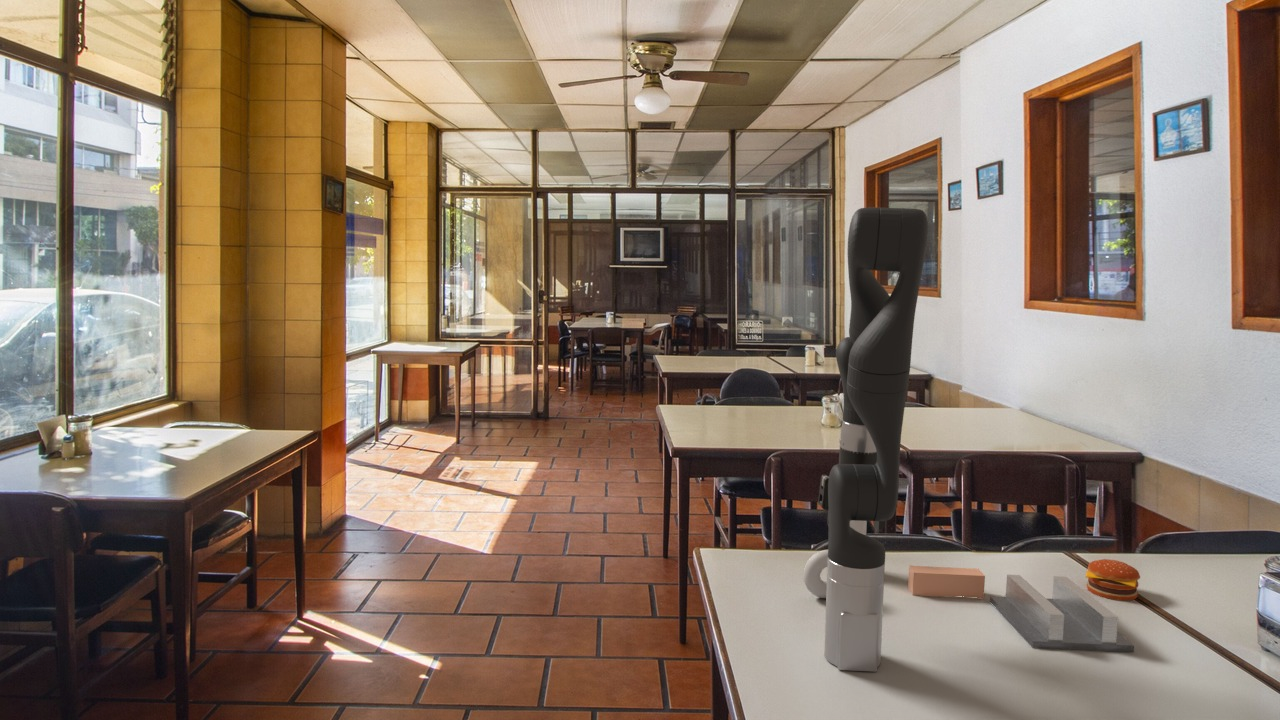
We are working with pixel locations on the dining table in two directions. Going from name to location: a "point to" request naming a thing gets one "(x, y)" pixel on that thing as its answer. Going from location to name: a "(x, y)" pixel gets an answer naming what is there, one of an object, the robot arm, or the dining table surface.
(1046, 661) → the dining table surface
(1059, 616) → the aluminium rail channel
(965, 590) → the clay strip
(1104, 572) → the hamburger
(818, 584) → the donut
